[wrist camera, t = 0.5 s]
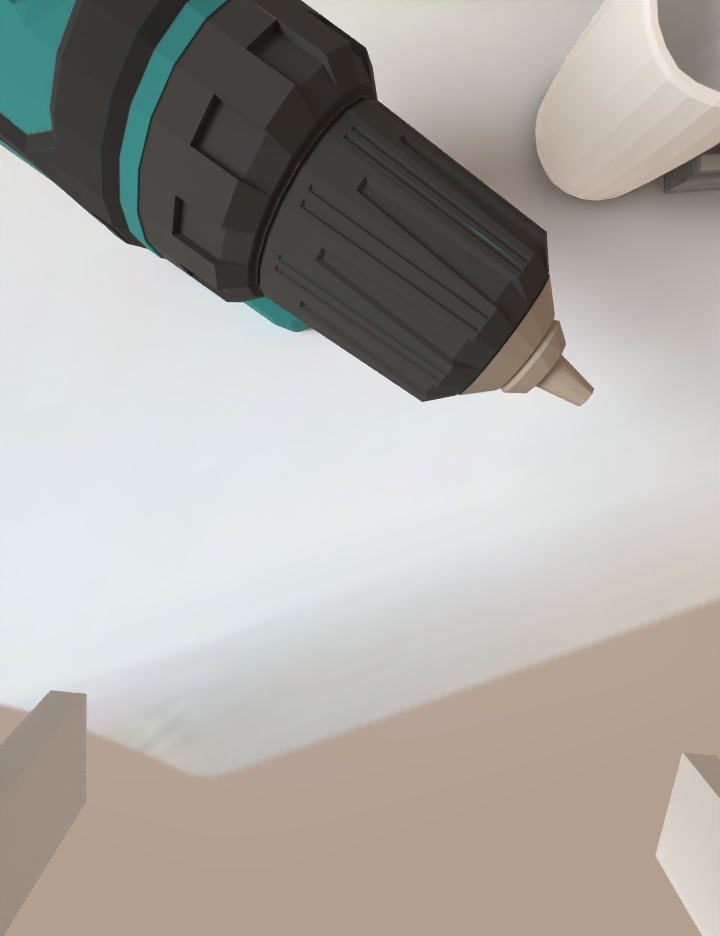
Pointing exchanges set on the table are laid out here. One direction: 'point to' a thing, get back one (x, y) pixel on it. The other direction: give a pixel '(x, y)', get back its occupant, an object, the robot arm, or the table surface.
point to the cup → (633, 97)
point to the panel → (695, 173)
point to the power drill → (283, 184)
